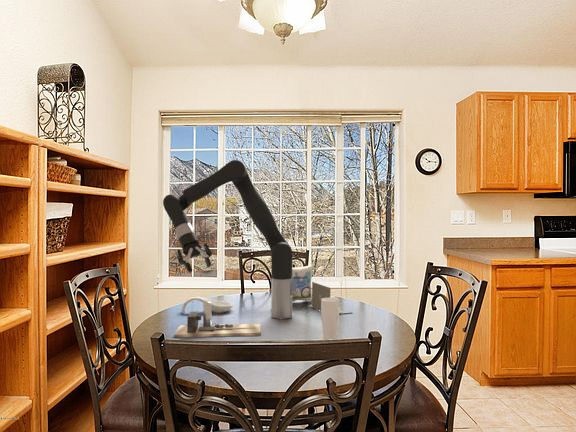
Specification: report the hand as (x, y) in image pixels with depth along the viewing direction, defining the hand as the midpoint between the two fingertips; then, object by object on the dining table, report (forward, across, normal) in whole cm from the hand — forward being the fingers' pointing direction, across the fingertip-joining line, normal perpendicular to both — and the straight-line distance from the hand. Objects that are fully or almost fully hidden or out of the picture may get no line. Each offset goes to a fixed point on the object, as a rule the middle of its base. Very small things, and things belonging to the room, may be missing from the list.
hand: (200, 269), depth 164 cm
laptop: (+37, +56, +2) cm, 67 cm away
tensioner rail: (+27, -3, -1) cm, 27 cm away
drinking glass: (+49, +23, -28) cm, 61 cm away
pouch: (+25, +52, +20) cm, 61 cm away
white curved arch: (+13, +8, +27) cm, 31 cm away
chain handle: (+25, -4, -1) cm, 26 cm away
